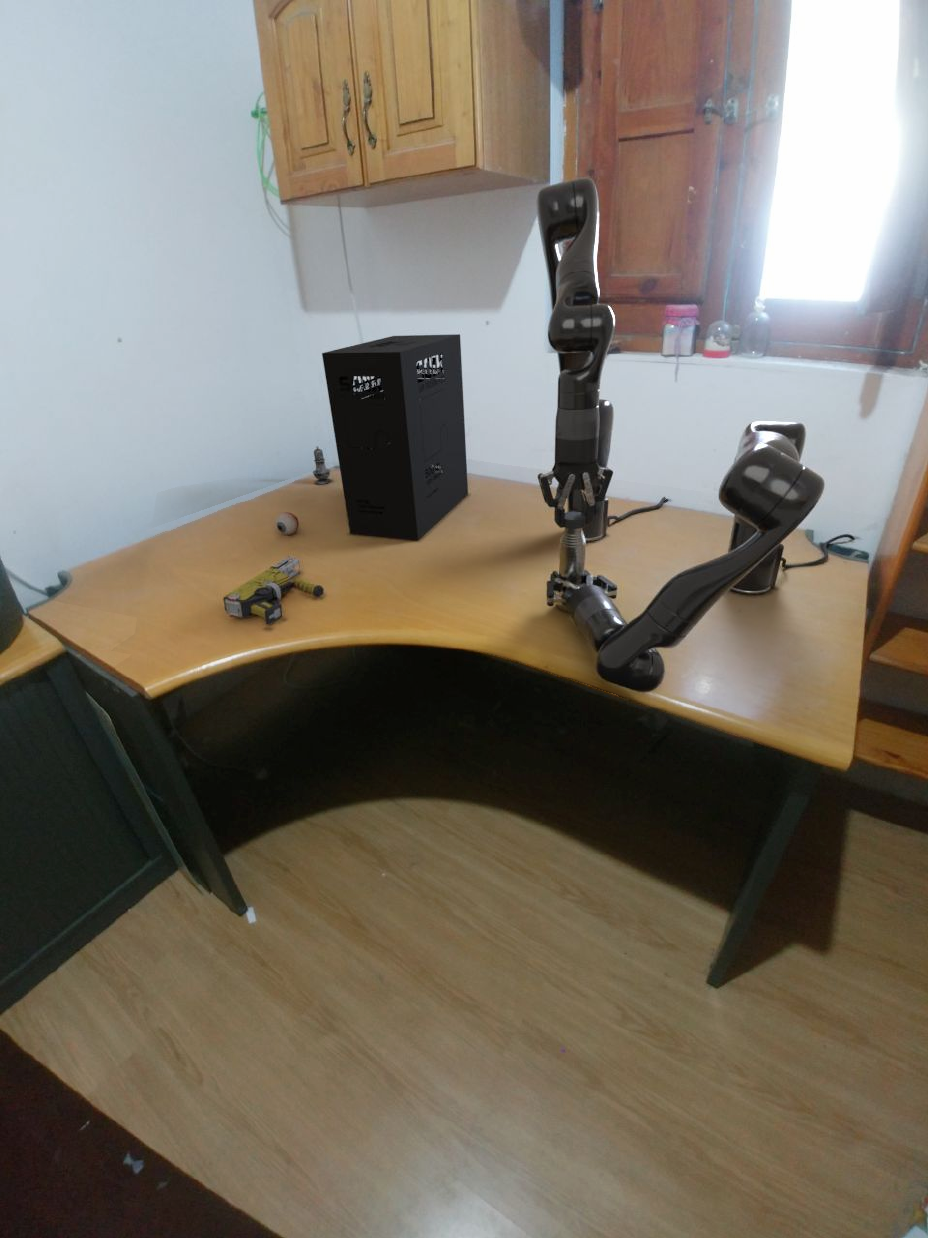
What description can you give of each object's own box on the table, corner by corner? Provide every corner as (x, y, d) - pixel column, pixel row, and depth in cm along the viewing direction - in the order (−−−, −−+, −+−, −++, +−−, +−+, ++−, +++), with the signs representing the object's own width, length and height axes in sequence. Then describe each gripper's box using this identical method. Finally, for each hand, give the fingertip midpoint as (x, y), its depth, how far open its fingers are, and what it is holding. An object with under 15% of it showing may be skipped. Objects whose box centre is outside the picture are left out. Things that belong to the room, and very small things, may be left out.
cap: (558, 528, 113) (558, 519, 112) (563, 519, 116) (564, 510, 116) (583, 530, 111) (583, 521, 110) (587, 521, 115) (588, 512, 114)
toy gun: (343, 565, 138) (286, 554, 142) (281, 611, 118) (217, 596, 122) (343, 584, 140) (288, 572, 144) (284, 632, 120) (221, 617, 124)
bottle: (570, 614, 120) (574, 525, 110) (553, 605, 123) (555, 519, 114) (587, 606, 122) (592, 518, 113) (569, 597, 126) (573, 512, 116)
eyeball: (273, 537, 164) (268, 516, 161) (287, 528, 169) (282, 508, 166) (291, 539, 161) (286, 518, 158) (305, 530, 166) (301, 510, 163)
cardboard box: (408, 489, 193) (393, 335, 171) (468, 494, 187) (460, 334, 164) (350, 533, 163) (321, 353, 141) (418, 540, 156) (400, 352, 134)
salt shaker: (327, 484, 203) (321, 448, 197) (311, 484, 204) (305, 448, 198) (334, 479, 208) (328, 443, 202) (318, 478, 209) (312, 443, 203)
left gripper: (607, 424, 109) (602, 514, 118) (531, 431, 108) (531, 522, 116) (624, 433, 103) (617, 527, 112) (543, 441, 101) (542, 536, 110)
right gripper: (635, 590, 106) (602, 552, 121) (556, 600, 105) (532, 560, 119) (631, 627, 110) (600, 586, 125) (555, 636, 109) (532, 594, 123)
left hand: (573, 524), depth 114 cm, fingers closed on cap, 4 cm apart
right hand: (567, 573), depth 122 cm, fingers closed on bottle, 5 cm apart
